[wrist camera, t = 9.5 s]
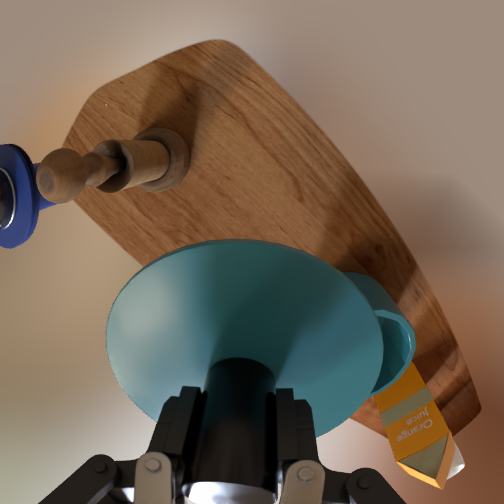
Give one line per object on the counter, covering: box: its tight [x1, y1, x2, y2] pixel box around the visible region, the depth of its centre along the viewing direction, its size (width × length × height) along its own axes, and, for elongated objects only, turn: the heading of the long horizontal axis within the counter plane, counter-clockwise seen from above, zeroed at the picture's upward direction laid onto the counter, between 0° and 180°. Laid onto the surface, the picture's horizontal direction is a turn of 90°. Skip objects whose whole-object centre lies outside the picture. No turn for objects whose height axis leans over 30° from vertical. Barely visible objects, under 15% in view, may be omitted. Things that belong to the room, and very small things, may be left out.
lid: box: [106, 239, 384, 504], centre depth 10 cm, size 13×13×7 cm
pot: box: [343, 272, 416, 398], centre depth 30 cm, size 13×13×8 cm
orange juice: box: [374, 361, 456, 491], centre depth 29 cm, size 8×9×20 cm
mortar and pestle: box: [36, 127, 190, 203], centre depth 20 cm, size 7×6×18 cm
